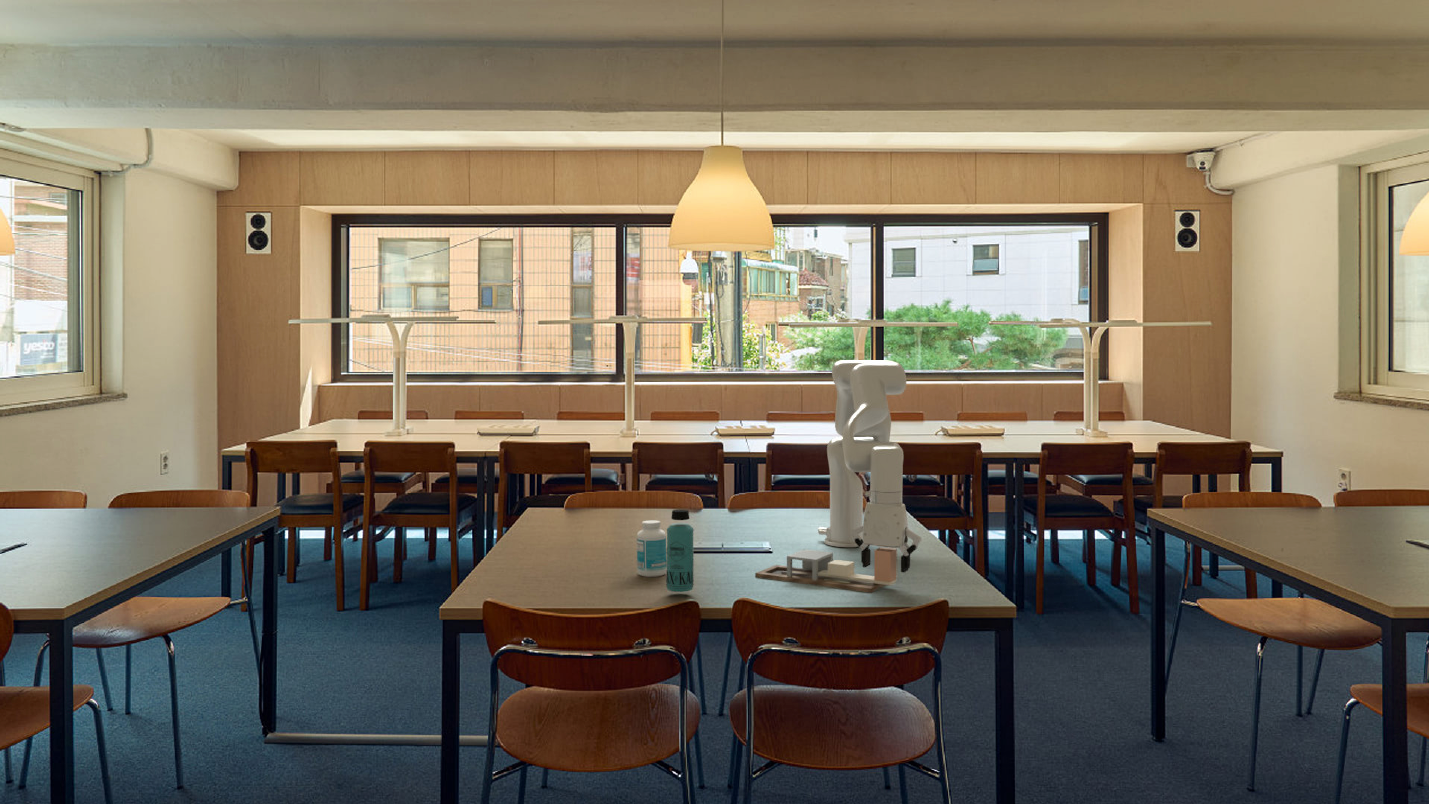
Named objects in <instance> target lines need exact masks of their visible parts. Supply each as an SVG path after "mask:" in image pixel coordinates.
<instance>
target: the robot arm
mask: <svg viewBox="0 0 1429 804" xmlns="http://www.w3.org/2000/svg"><path fill="white" fill-rule="evenodd" d="M831 376H832V380H833V383H834V386H835V389H836V394H837V395H836V404H835V416H834V417H835V418H834V428H835V431H836V433H837V434H838V435H839V436H838V437H834V438H832V439H831V440H830V441H828V444H827V446H826V447H827V448H826V454H827V461H828V468H829V527H821V526H819V527H818V530H817V533H818V535H822V536H826V537H825V539H824V544H825V545H827V546H829V547H838V548H859V551H861V557H860V559H861V560H860V561H861V564H862V567H863V568H867V567H870V566H871V556H872V555H871V553H872V552H871V548H870V546H876V547H877V546H878V547H883V548H892V549H897V548H898V549H899V550H900V552H901V554H902V555H901V556H900V572H901V573H902V574H903V573H906V572H908V571H909V569H910V568H911V554H913V553H914V552H915V550H917V549H918V547H919V545H920V544H921V541H922V537H921V536H919V535H918V534H916V533H915V532H913V531H911V530H910V529H909V523H908V516H907V515H908V513H907V510H906V509H907V508H906V505H905V503H903V482H904V481H903V475H904V474H903V471H904V470H903V468H904V467H903V465H904V450H903V448H902V447H901V446H900V444H899V443H897V442H895V441H890V438H891V429H892V418H891V417H892V416H891V413H890V408H889V404H888V400H887V399H888V398H887V396H890V395H891V396H897V395H901V394H903V393H904V391H906V387H907V376H906V372H905V369H904V367H903V366H902V364H901V363H899V362H896V361H894V360H885V359H884V360H881V359H880V360H874V359H872V360H871V359H870V360H868V359H867V360H865V359H860V360H859V359H853V360H852V359H843V360H842V359H840V360H837V361H835V362H834V364H833V365H832V368H831ZM856 473H870V474H869V475H870V479H869V480H870V483H869V484H870V485H869V486H870V488H869V490H868V491H867V490H866V491H864V489H863V488H864V487H863V485H864V484H863V482H862V480H861V478H860V476H858V475H857V474H856ZM863 493H864V494H863ZM863 496H865V498H866V497H867V498H869V501H868V502H866V504H865V505H866V506H865V509H864V510H863V507H864V506H863V505H864V504H863V502H864V499H863V498H864V497H863ZM863 511H864V514H863ZM863 515H864V516H863ZM909 539H910V540H911V541H912V544H911V545H910V546H909V544H908V542H909Z"/></svg>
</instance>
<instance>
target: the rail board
mask: <svg viewBox="0 0 1429 804" xmlns="http://www.w3.org/2000/svg"><path fill="white" fill-rule="evenodd" d="M818 572H820V571H818ZM754 575H755V578H761V579H767V580H774V581H775V580H776V581H782V582H788V583H790V582H791V583H798V584H803V585H805V584H806V585H811V586H819V587H827V588H834V589H840V590H849V591H855V592H862V593H870V594H871V593H874V592H875V591H876V590H879V589H880V588H882V587H884V586H885V585H883V584H876V583H871V582H863V581H856V580H848V579H840V578H833V577H825V576H818V580H812V570H810V569H803V568H802V567H795V566H794V567H793V566H792V577H787V565H780V564H774V565H773V566H770V567H767V568H764V569H762V570H759V571H758V572H757V571H756V572H755V574H754Z"/></svg>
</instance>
